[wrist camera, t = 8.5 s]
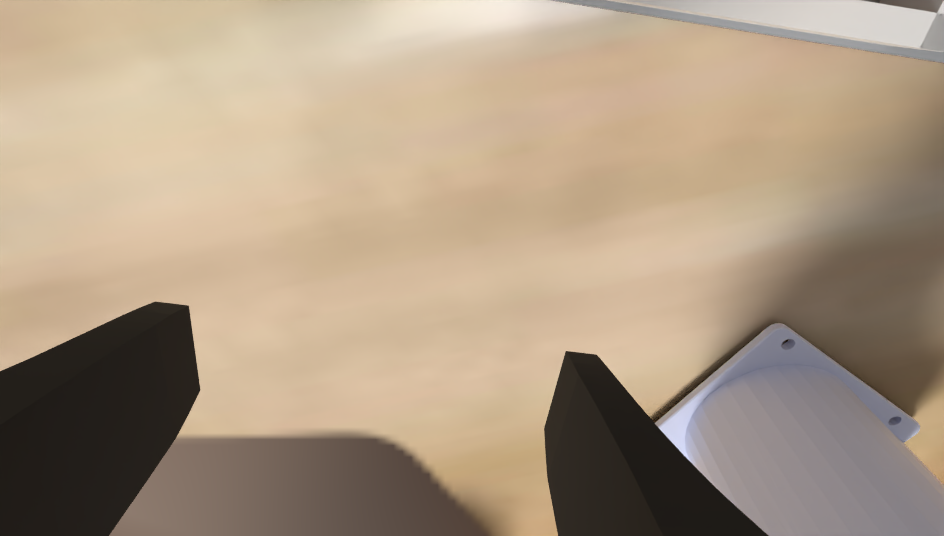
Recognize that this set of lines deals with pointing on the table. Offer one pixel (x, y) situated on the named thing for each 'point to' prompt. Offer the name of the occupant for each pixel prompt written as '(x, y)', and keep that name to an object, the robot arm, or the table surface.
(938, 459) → the table surface
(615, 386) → the robot arm
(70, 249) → the table surface
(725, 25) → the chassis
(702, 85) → the table surface
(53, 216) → the table surface
